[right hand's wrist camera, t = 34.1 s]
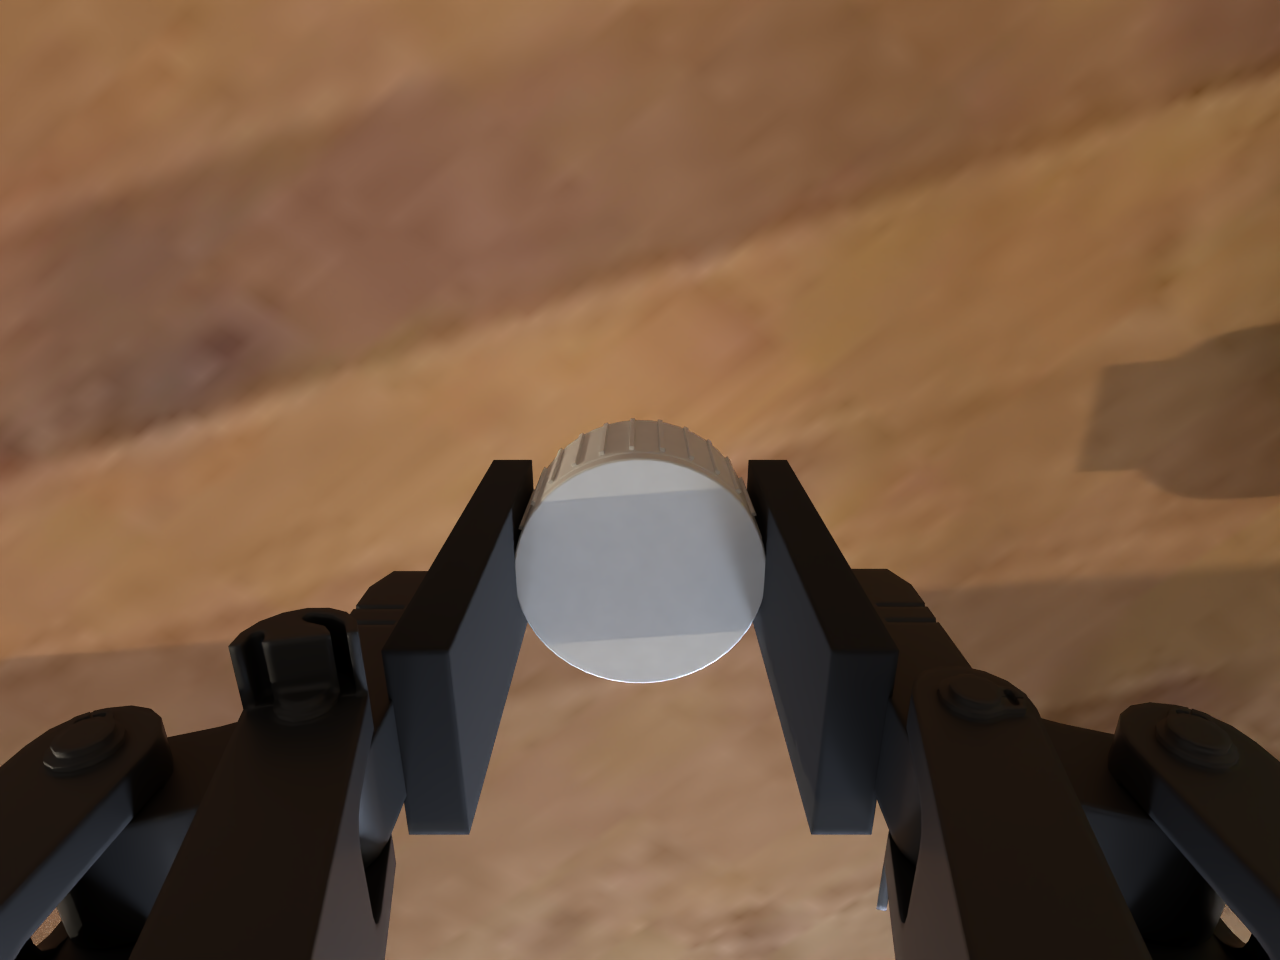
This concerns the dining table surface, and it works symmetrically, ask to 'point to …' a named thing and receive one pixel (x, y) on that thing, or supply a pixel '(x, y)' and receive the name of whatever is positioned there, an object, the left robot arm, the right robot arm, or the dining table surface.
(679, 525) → the cap
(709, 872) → the dining table surface
